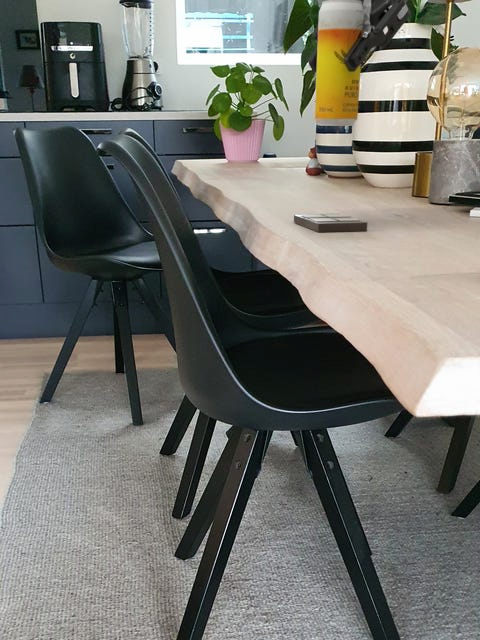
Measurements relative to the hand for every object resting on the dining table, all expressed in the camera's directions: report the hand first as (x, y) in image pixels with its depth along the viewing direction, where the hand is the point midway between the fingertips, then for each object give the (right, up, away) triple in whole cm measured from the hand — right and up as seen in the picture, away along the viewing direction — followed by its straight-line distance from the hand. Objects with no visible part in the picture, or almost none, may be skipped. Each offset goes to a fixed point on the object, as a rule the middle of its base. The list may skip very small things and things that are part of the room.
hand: (330, 66), depth 110 cm
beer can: (+1, -6, +4) cm, 8 cm away
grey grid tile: (+1, -18, +11) cm, 21 cm away
